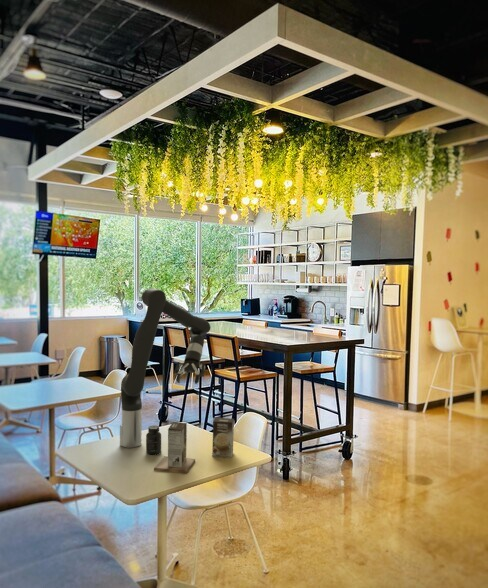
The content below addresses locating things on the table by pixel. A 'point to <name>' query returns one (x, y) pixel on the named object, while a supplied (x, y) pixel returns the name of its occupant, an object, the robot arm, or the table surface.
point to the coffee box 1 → (177, 444)
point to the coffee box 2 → (223, 437)
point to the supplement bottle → (153, 441)
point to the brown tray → (164, 467)
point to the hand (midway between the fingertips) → (186, 382)
